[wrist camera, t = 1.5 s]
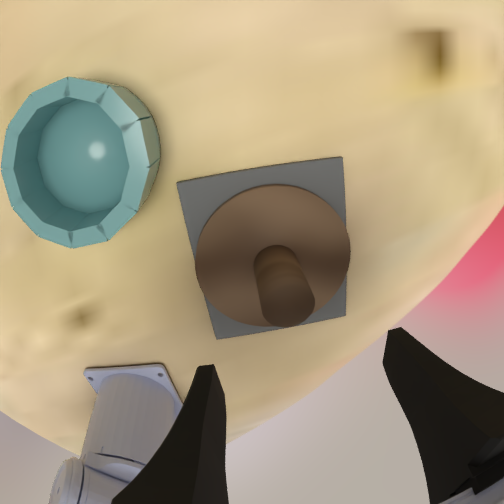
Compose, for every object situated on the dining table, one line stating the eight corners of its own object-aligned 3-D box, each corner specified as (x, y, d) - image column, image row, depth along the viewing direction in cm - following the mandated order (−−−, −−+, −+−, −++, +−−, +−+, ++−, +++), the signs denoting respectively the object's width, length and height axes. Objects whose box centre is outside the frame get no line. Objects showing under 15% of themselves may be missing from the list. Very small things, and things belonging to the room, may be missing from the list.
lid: (345, 305, 23) (370, 352, 19) (213, 329, 23) (213, 382, 18) (344, 174, 19) (382, 199, 14) (180, 199, 18) (167, 234, 14)
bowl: (174, 207, 19) (165, 229, 16) (54, 234, 19) (30, 258, 16) (145, 63, 15) (128, 55, 12) (21, 110, 15) (-11, 115, 12)
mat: (344, 312, 24) (345, 315, 24) (216, 336, 24) (216, 339, 24) (340, 156, 19) (342, 157, 18) (177, 182, 18) (176, 183, 18)
